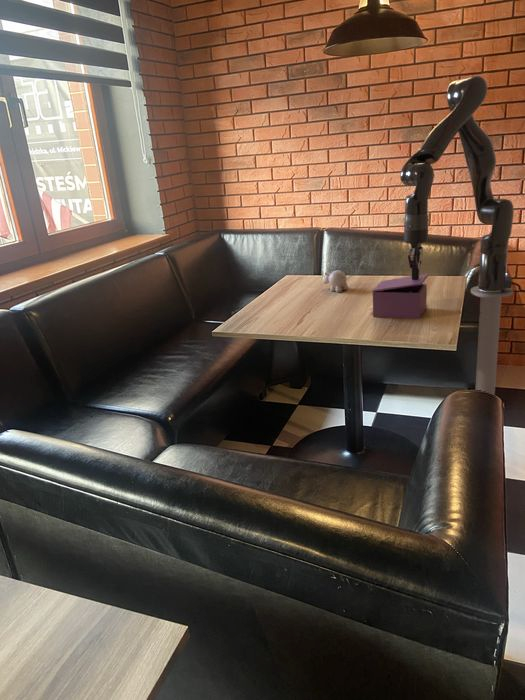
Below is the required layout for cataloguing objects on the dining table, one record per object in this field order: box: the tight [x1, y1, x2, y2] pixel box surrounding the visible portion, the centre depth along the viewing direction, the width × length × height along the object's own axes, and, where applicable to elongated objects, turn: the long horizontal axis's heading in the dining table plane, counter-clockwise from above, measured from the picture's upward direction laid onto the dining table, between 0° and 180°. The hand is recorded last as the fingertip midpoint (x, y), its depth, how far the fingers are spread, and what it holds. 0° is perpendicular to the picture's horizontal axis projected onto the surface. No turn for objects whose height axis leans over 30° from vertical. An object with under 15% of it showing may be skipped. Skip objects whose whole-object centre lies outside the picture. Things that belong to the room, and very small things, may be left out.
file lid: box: [372, 273, 429, 293], centre depth 183 cm, size 16×13×1 cm
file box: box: [372, 283, 428, 320], centre depth 185 cm, size 16×13×9 cm
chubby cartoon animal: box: [322, 269, 349, 293], centre depth 221 cm, size 7×12×8 cm, turn 36°
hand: (415, 279), depth 180 cm, fingers closed
